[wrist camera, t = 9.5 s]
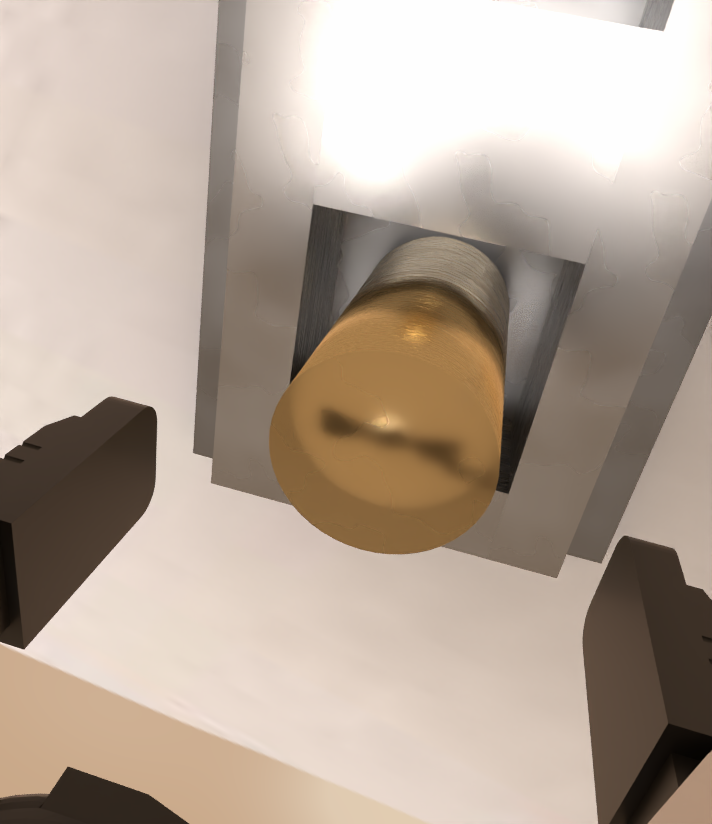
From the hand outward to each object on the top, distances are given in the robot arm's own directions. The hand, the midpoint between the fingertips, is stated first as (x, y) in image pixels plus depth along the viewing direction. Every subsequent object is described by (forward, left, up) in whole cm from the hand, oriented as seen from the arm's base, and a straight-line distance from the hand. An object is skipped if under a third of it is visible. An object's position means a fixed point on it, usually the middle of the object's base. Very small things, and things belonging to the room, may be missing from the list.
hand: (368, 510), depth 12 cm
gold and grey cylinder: (0, 0, -11) cm, 11 cm away
